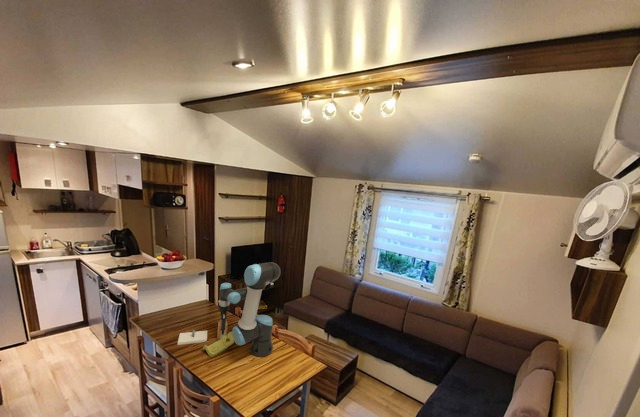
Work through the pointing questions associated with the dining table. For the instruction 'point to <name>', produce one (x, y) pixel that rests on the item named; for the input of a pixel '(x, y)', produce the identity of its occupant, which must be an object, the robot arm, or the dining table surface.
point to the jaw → (220, 328)
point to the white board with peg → (192, 337)
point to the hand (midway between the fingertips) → (222, 333)
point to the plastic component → (219, 345)
